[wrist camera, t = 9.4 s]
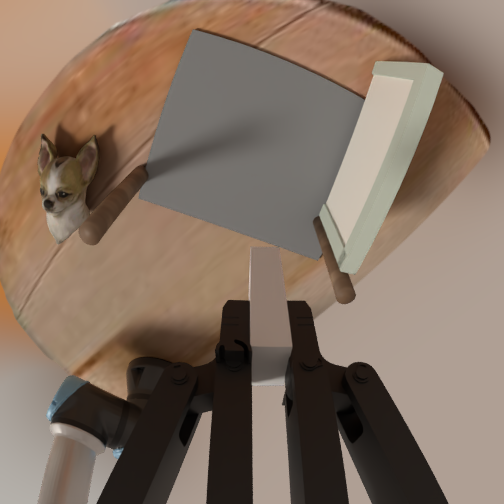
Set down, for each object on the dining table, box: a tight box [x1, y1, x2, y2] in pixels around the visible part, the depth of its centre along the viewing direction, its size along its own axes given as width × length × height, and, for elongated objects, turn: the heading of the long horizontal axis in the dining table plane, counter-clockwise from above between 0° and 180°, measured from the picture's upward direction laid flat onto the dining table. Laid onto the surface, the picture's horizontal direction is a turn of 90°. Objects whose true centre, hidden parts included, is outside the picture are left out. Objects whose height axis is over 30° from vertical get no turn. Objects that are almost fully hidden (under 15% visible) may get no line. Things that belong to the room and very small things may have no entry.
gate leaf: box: [319, 61, 444, 275], centre depth 29 cm, size 22×2×12 cm, turn 165°
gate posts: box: [79, 166, 356, 304], centre depth 34 cm, size 2×28×16 cm, turn 73°
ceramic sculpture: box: [38, 134, 99, 244], centre depth 35 cm, size 11×9×15 cm
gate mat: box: [139, 30, 365, 261], centre depth 37 cm, size 24×28×1 cm
